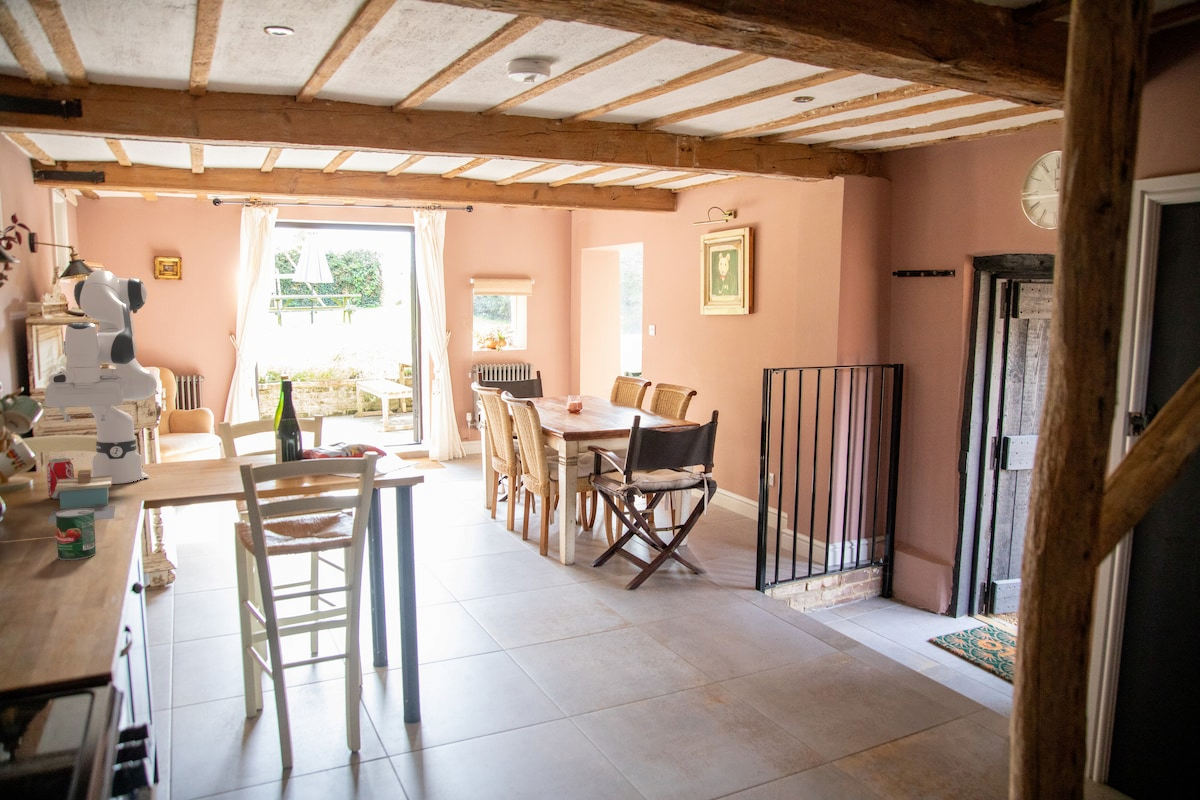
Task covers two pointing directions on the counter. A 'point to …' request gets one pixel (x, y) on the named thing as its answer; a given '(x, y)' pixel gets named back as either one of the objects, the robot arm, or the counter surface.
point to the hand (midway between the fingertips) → (85, 421)
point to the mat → (98, 514)
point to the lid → (84, 482)
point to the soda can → (58, 474)
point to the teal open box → (84, 498)
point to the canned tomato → (75, 534)
